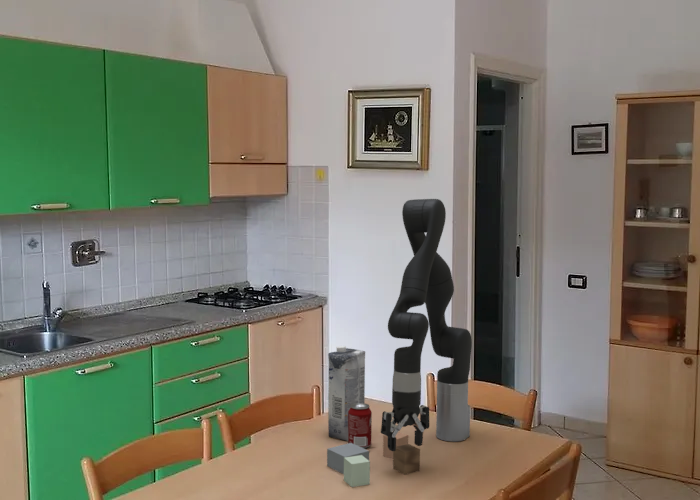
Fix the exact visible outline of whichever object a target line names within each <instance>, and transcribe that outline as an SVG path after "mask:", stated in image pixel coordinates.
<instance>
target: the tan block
mask: <svg viewBox="0 0 700 500" xmlns="http://www.w3.org/2000/svg"><path fill="white" fill-rule="evenodd" d="M382 436H383V437H382V440H383V442H382V444H383V445H382V457H384V458H388V459H391V460H393V451H391V450H389V448H388V436H386V435H384V434H382ZM409 436H410V435H409V434H406V433H403V432H399V431H398V433H397V434H396V436H395V437H396V446H401V445H405V444H409Z"/></svg>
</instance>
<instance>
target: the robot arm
mask: <svg viewBox="0 0 700 500" xmlns="http://www.w3.org/2000/svg"><path fill="white" fill-rule="evenodd" d="M446 212H447V211H446V207H445V204H444V202H443V201H442V200H441V199H439V198H423V199H408V200H407V201H405V202H404V203H403V206H402V212H401V213H402V214H401V215H402V221H403V226H404V229H405V232H406V236H407V239H408V240H409V241H408V242H409V244H410V247H411V250H412V253H413V257H412V258H411V260H409V262H408V263H407V265H406V267H405V269H404V272H403V275H402V280H401V285H400V291H399V296H398V297H397V298H398V299H397V300H396V303H395V306H394V307H393V309H392V311H391V314H389V315H390V316H389V318H388V321H387V331H388V333H389V335H390V336H391V337H393V338H394V339H405V340H412V342H411V345H409V346H402V347H398V348H396V349H395V350H394V354H393V375H392V387H391V389H392V391H391V392H392V394H391V395H392V397H391V404H392V407H393V409H392V411H382V416H381V429H380V433H381V434H382V435H386V436H388V448H389V450H391V451H396V437H395V436H396V434H397V433H398V432H399V431H401V430H402V429H403V428H405V427H408V426H413V428H414V429H415V430H414V441H413V443H414V445H415V446H416V447H420V446H422V443H423V442H424V441H423V440H424V432H425V430H427V429H430V407H429V406H426V405H423V404H421V401H422V400H421V398H422V374H421V364H422V363H421V362H422V353H423V348H424V344H425V340H426V338H427V334H428V332H429V334H430V340H431V341H430V342H431V346H432V349H433V352H434V353H435V355H436V356H438V357H442V358H448V359H452V360H453V361H452V365H451V366H449V367H442V368H440V369H439V370H438V371H437V373H436V377H437V378H436V418H435V419H436V421H435V425H436V429H435V431H436V432H435V436H436V438H437V439H439V440H442V441H446V442H461V441H465V440H467V438H470V435H471V434H470V431H471V428H470V427H471V406H470V404H469V375H470V371H471V360H472V358H471V357H472V347H473V346H472V344H473V343H472V341H473V340H472V339H473V338H472V335H471V332H470V331H469V330H468V329H466V328H461V327H456V326H454V327H453V326H448V324H447V322H446V314H445V313H446V311H447V308H448V305H449V304H450V302H451V300H452V297H453V295H454V292H455V286H454V281H453V276H452V271H451V269H450V267H449V264H448V263H447V262H446V260H445V259H443V257H442V256H441V255H440V254H439V253H438V249H439V245H440V241H441V238H442V234H443V232H444V228H445V224H446V217H447V216H446V215H447V214H446ZM424 304H425V308H426V309H425V310H426V313H427V316H426V315H425V314H424V313H421V312H411V311H410V312H409V310H410V309H412V308H415V307H421V306H423V305H424Z"/></svg>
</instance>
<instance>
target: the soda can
mask: <svg viewBox="0 0 700 500" xmlns="http://www.w3.org/2000/svg"><path fill="white" fill-rule="evenodd" d="M370 406H371V405H370V404H368V403H365V402H364V403H354V404H351V405H350V407H351V408H350V409H349V411H348V441H347V444H348V443H353V444H355V445H357V446H359V447H362V448H364V449H367V448H369V447H370V446H371V445H372V418H373V417H372V415H373V413H372V410H371V408H370Z"/></svg>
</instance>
